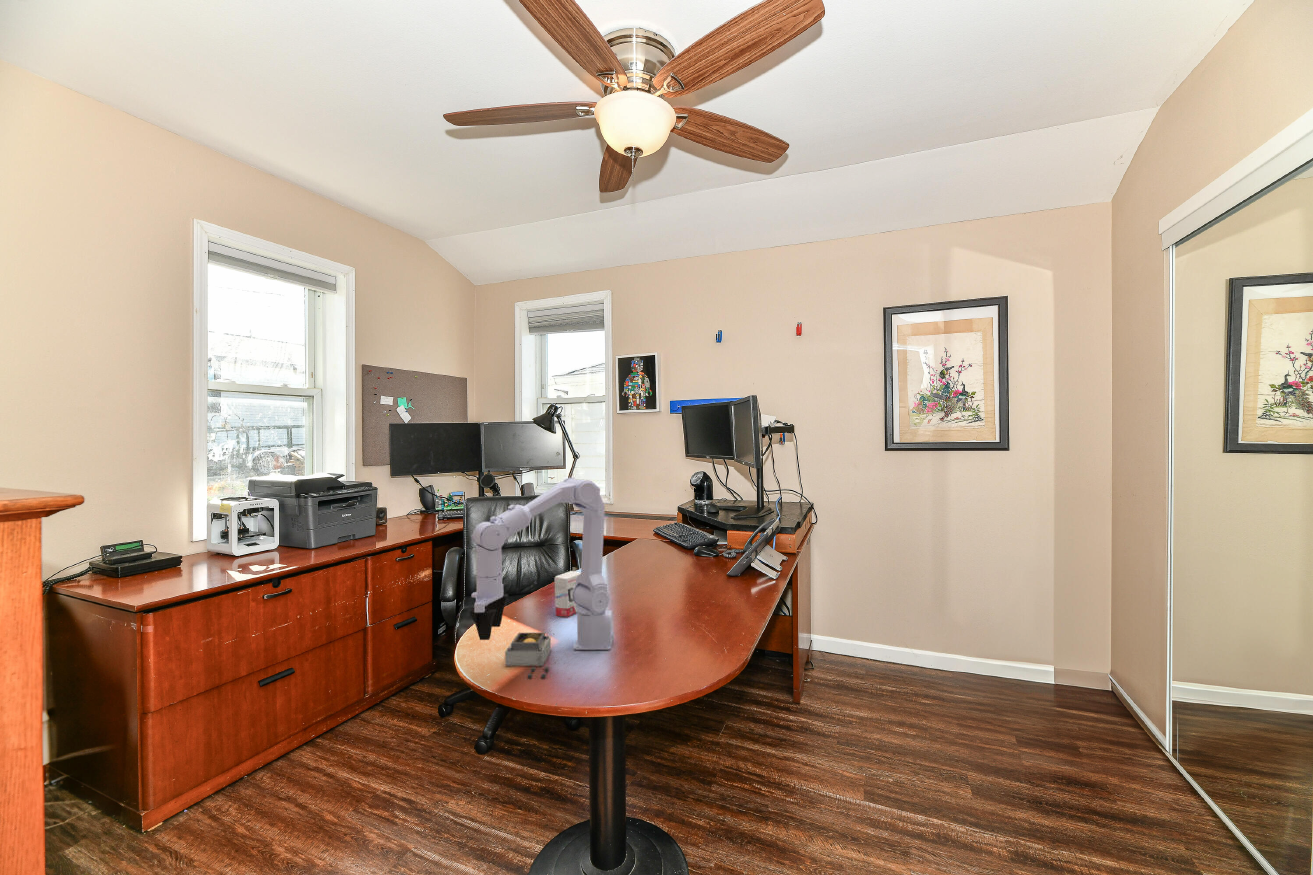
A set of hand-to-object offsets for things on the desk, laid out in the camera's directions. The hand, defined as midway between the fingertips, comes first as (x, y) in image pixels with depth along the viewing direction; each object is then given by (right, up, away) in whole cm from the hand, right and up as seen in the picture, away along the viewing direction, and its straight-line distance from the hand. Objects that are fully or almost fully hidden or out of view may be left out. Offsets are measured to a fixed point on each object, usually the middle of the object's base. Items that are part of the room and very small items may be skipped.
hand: (490, 632), depth 123 cm
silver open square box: (+7, -10, +9) cm, 15 cm away
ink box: (+12, -9, +41) cm, 44 cm away
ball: (+7, -9, +9) cm, 14 cm away
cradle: (+11, -10, 0) cm, 15 cm away
